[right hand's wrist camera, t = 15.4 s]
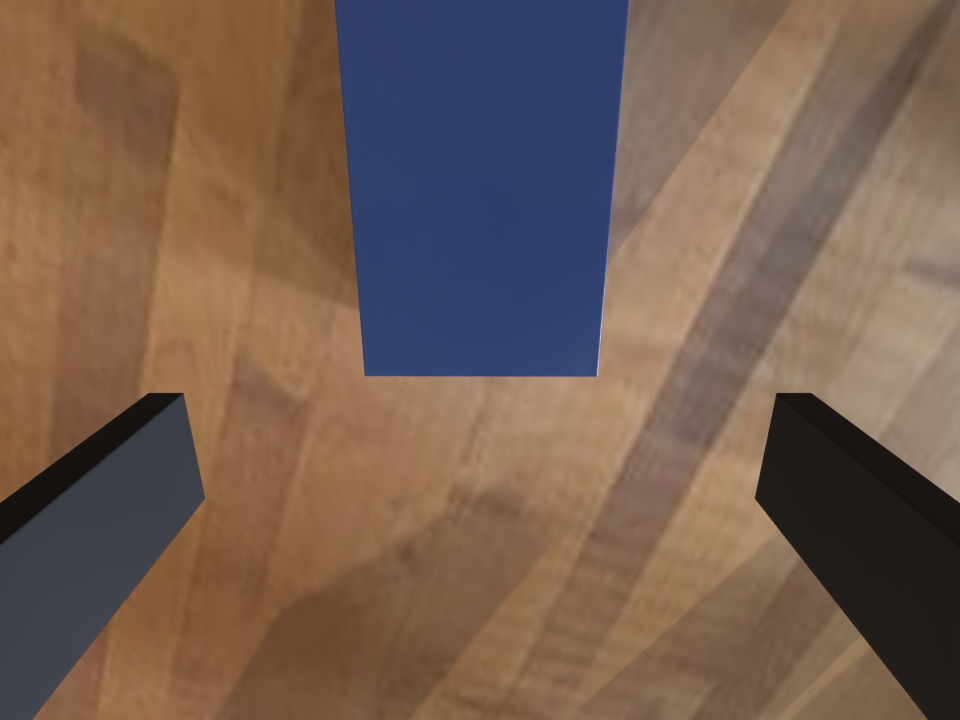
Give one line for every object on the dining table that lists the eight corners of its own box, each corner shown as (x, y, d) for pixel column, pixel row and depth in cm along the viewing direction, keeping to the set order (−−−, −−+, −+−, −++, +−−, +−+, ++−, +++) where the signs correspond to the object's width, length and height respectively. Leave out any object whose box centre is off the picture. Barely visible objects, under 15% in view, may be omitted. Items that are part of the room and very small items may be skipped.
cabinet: (371, -27, 26) (326, -96, 19) (592, -27, 26) (637, -95, 19) (391, 321, 32) (364, 376, 25) (570, 321, 32) (597, 377, 25)
